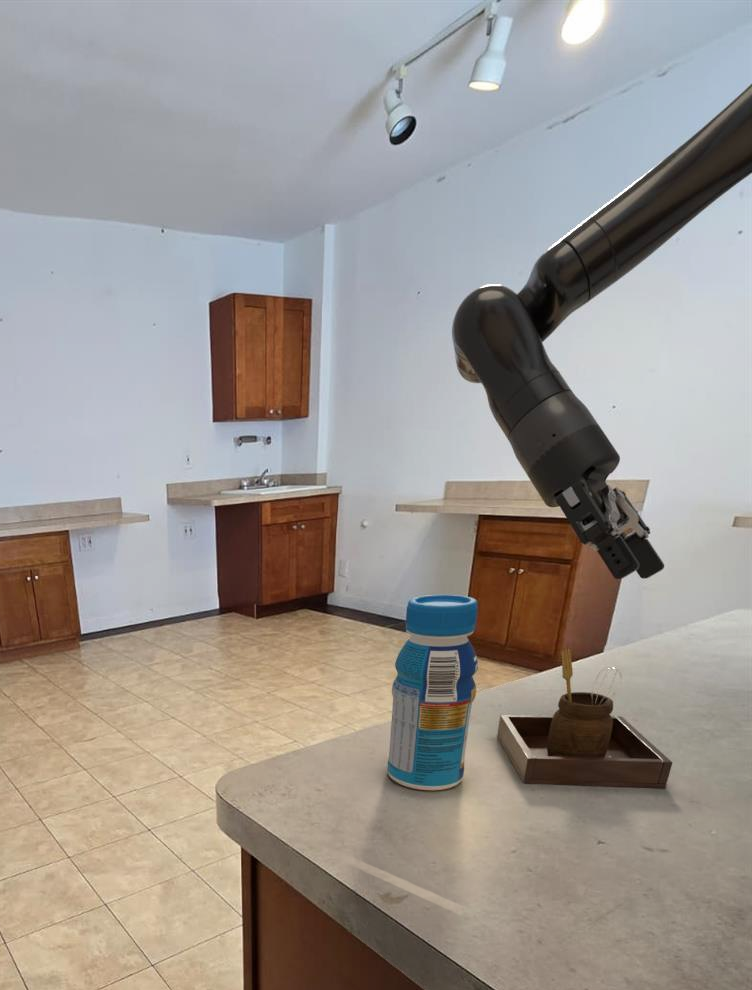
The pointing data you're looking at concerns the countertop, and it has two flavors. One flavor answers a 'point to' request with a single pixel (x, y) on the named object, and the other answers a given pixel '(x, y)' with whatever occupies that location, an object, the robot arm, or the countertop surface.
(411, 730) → the beverage bottle
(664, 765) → the tray box
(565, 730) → the utensil holder
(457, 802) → the countertop surface
